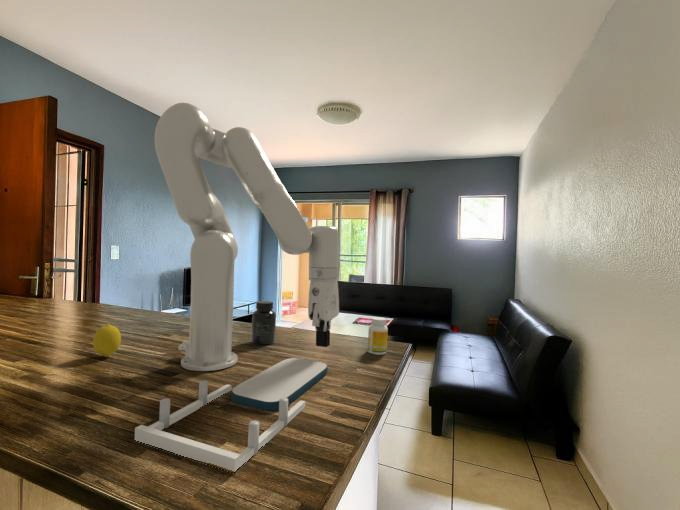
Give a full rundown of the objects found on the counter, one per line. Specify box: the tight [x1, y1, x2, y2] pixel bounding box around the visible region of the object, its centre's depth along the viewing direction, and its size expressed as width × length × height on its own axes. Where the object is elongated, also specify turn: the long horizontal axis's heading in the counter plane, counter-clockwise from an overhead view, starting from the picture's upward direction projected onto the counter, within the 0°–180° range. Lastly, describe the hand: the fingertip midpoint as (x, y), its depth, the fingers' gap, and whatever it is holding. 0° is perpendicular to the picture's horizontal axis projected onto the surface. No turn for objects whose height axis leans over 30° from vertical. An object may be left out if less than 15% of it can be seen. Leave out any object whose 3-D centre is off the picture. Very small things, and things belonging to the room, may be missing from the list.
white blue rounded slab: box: [230, 357, 329, 412], centre depth 69 cm, size 24×12×2 cm, turn 158°
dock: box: [134, 379, 307, 472], centre depth 53 cm, size 17×20×4 cm
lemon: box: [92, 323, 122, 358], centre depth 80 cm, size 6×6×8 cm
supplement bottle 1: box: [250, 300, 277, 346], centre depth 99 cm, size 7×7×12 cm
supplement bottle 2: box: [367, 316, 389, 356], centre depth 94 cm, size 5×5×10 cm
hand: (322, 345), depth 86 cm, fingers closed
